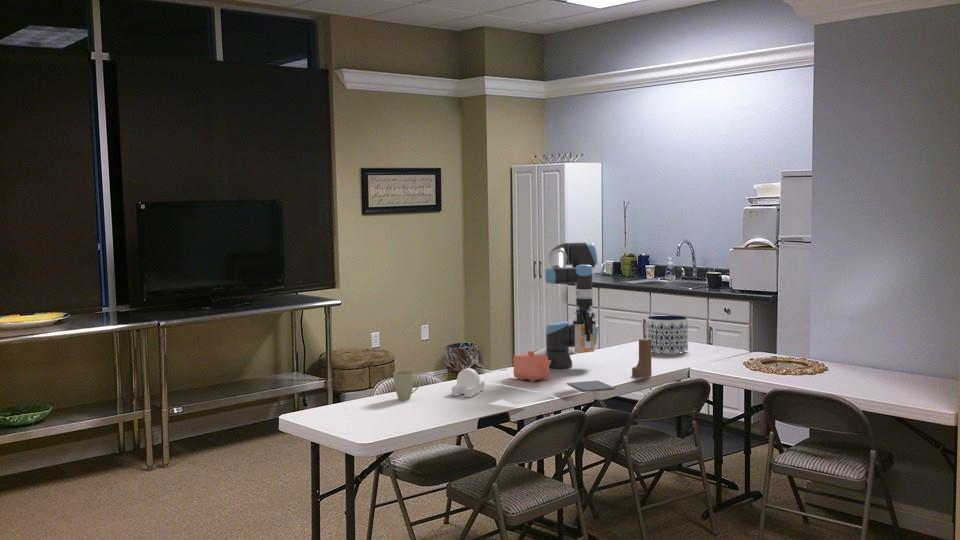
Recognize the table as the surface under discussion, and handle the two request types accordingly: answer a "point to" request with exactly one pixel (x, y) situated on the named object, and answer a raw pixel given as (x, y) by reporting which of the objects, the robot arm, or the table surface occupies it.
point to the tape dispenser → (467, 383)
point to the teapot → (531, 366)
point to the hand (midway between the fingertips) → (584, 347)
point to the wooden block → (643, 359)
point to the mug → (404, 384)
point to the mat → (590, 386)
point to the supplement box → (582, 339)
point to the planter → (668, 333)
